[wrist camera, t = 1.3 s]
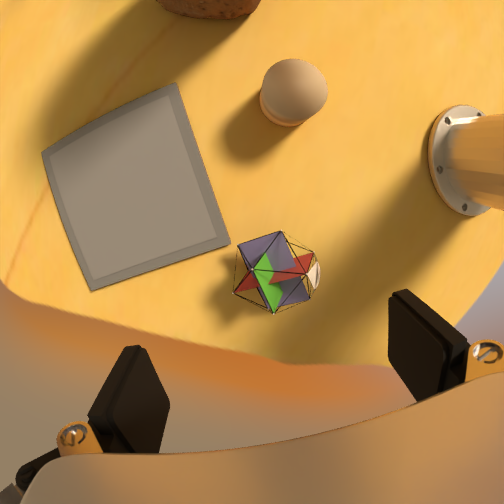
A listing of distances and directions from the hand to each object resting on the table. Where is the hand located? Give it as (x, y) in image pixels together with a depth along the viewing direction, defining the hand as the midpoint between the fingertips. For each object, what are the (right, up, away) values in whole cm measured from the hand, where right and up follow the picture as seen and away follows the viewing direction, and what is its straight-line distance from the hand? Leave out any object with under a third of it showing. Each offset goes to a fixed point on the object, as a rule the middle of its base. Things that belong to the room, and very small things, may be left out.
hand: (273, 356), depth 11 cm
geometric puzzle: (+1, +3, +19) cm, 19 cm away
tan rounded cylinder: (+2, +17, +15) cm, 23 cm away
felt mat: (-13, +10, +16) cm, 23 cm away
